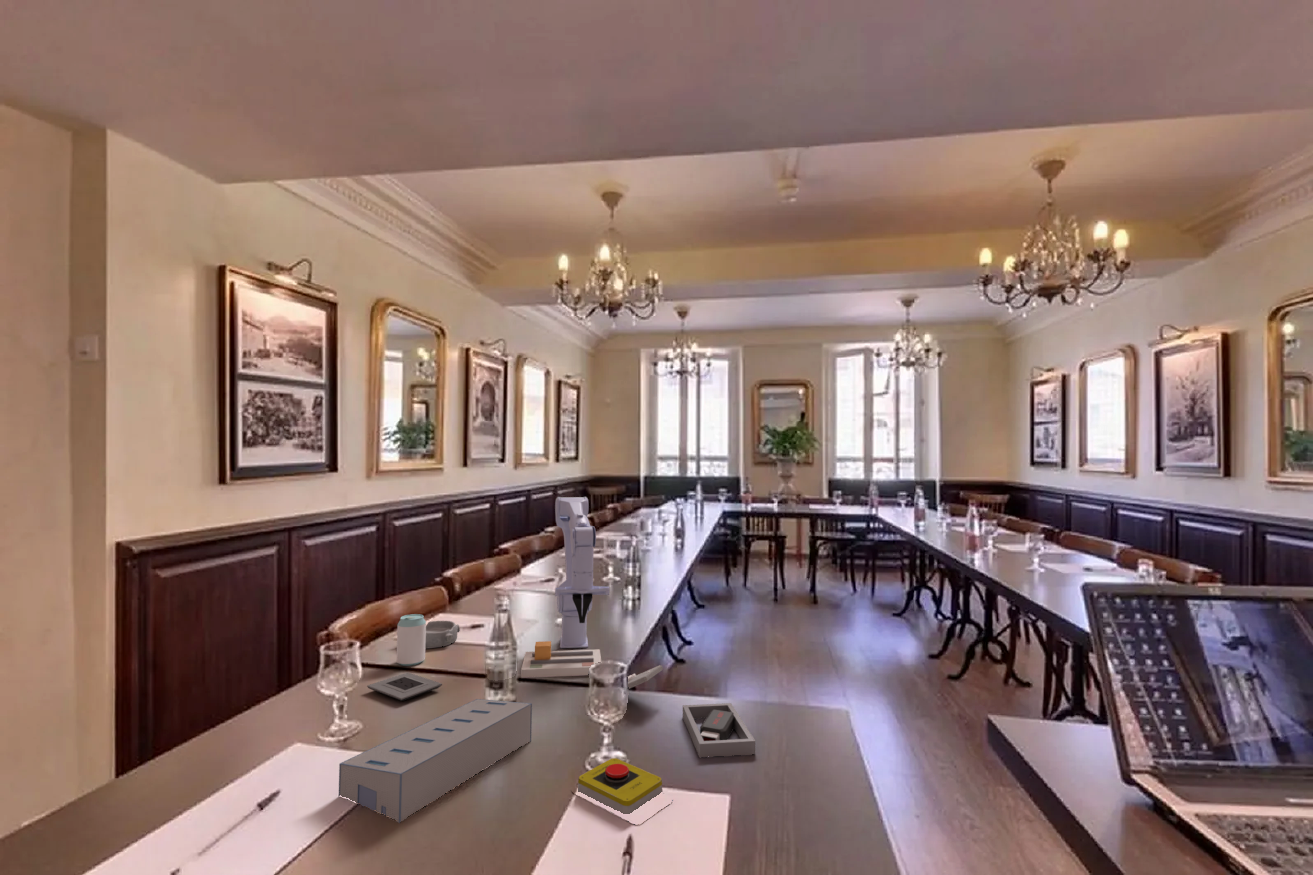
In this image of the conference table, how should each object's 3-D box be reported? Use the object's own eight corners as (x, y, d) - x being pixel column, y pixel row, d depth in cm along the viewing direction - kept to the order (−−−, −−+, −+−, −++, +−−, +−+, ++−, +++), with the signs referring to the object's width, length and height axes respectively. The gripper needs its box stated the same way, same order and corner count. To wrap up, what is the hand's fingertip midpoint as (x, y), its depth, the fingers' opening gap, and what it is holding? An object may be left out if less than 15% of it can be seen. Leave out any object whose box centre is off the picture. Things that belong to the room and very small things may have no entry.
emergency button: (608, 746, 106) (675, 775, 97) (608, 772, 106) (675, 803, 97) (568, 767, 99) (637, 800, 90) (568, 794, 99) (637, 830, 90)
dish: (397, 649, 172) (397, 631, 172) (423, 635, 186) (423, 618, 186) (444, 652, 170) (444, 634, 170) (467, 637, 183) (467, 621, 184)
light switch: (610, 682, 143) (659, 660, 138) (621, 706, 142) (671, 685, 136) (592, 694, 135) (643, 672, 130) (602, 720, 134) (654, 699, 129)
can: (418, 666, 157) (419, 620, 158) (391, 666, 157) (392, 620, 158) (429, 658, 164) (430, 613, 165) (403, 657, 164) (404, 613, 165)
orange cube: (535, 657, 159) (535, 641, 159) (550, 656, 160) (551, 641, 160) (534, 662, 155) (534, 646, 155) (550, 661, 156) (550, 645, 156)
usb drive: (736, 723, 124) (736, 710, 125) (721, 749, 113) (721, 734, 113) (711, 719, 126) (711, 706, 126) (695, 744, 115) (695, 730, 115)
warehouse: (476, 727, 123) (476, 689, 123) (531, 743, 116) (531, 703, 117) (338, 799, 97) (339, 751, 97) (399, 826, 90) (400, 774, 90)
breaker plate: (525, 659, 164) (525, 648, 164) (599, 656, 166) (599, 646, 167) (521, 677, 150) (521, 666, 150) (601, 674, 153) (602, 663, 153)
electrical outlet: (441, 692, 141) (442, 682, 141) (401, 708, 132) (401, 696, 132) (407, 680, 148) (407, 671, 148) (366, 694, 140) (367, 684, 140)
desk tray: (682, 717, 128) (682, 705, 128) (730, 715, 129) (730, 703, 129) (699, 757, 110) (699, 744, 111) (755, 754, 112) (755, 740, 112)
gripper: (555, 574, 159) (554, 626, 158) (610, 573, 161) (609, 625, 160) (555, 569, 166) (555, 619, 165) (608, 568, 168) (608, 618, 167)
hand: (582, 622), depth 163 cm, fingers closed
